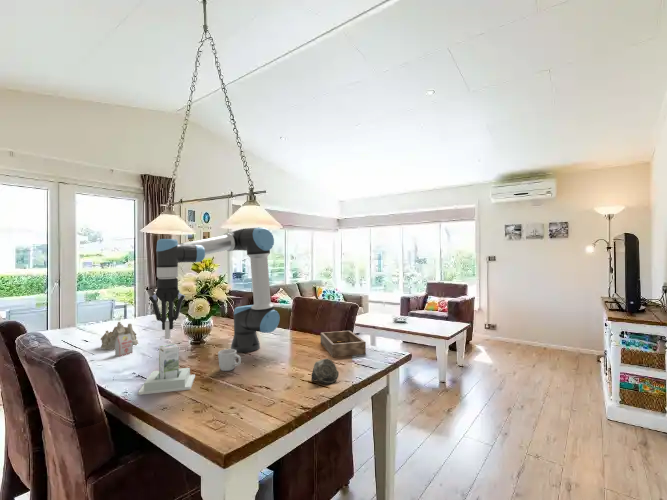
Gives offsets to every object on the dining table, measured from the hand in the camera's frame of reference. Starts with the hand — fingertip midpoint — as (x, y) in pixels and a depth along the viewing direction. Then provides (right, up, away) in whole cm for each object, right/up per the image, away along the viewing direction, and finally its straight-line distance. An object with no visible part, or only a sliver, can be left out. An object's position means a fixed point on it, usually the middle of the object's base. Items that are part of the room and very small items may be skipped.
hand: (167, 337), depth 137 cm
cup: (+19, -19, +18) cm, 32 cm away
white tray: (0, -19, 0) cm, 19 cm away
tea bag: (-43, -20, +43) cm, 64 cm away
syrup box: (0, -18, 0) cm, 18 cm away
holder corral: (+70, -18, +50) cm, 88 cm away
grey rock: (-55, -20, +60) cm, 84 cm away
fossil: (+62, -18, +3) cm, 65 cm away
